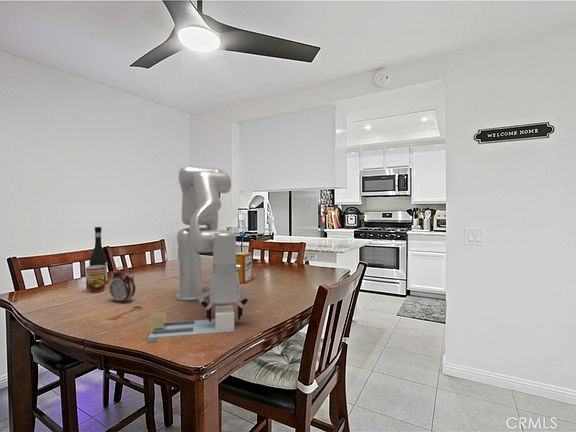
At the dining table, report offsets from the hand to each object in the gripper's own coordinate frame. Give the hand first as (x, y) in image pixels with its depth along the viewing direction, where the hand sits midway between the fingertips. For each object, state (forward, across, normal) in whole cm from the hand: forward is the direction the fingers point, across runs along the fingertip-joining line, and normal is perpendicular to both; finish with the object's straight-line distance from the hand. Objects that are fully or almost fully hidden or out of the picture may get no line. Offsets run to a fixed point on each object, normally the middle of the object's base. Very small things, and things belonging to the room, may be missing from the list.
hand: (224, 319), depth 107 cm
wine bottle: (+3, +63, -76) cm, 99 cm away
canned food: (+3, +59, -60) cm, 84 cm away
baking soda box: (+3, -12, -66) cm, 67 cm away
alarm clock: (+3, +42, -40) cm, 58 cm away
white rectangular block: (+2, 0, 0) cm, 2 cm away
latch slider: (+2, +21, 0) cm, 21 cm away
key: (+4, +36, -23) cm, 43 cm away
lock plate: (+3, +10, 0) cm, 11 cm away
